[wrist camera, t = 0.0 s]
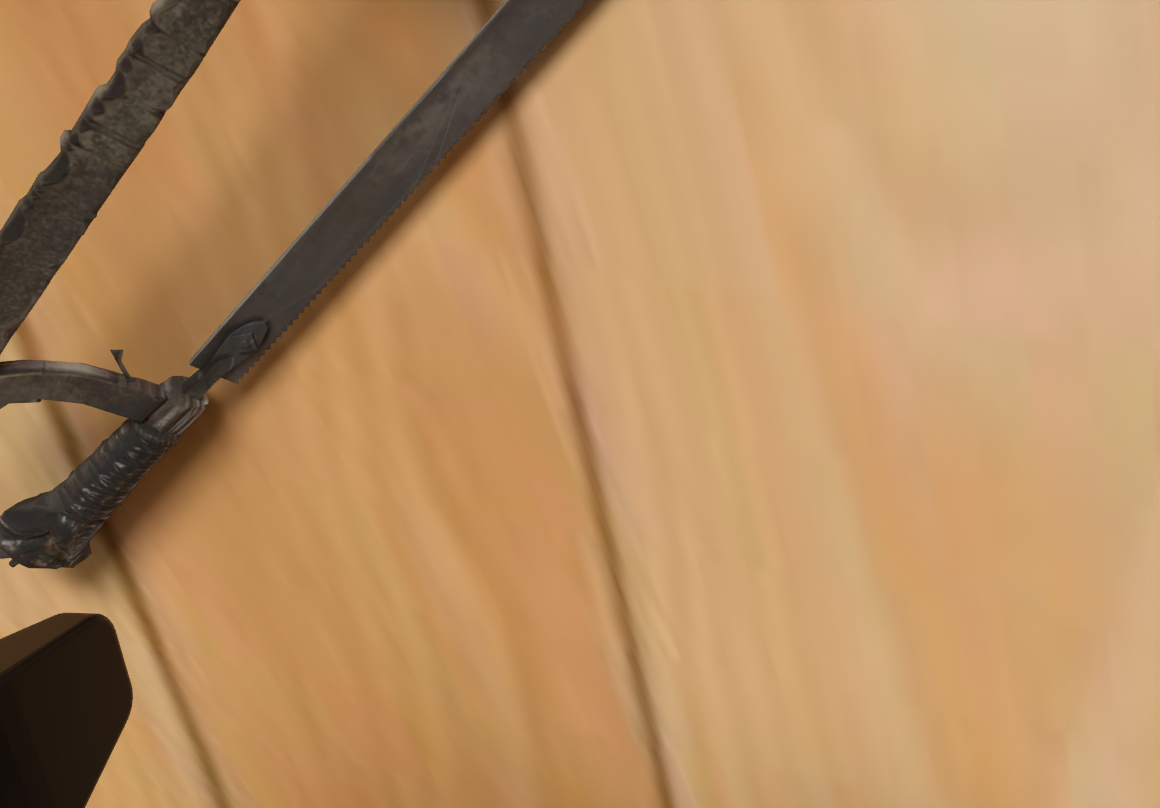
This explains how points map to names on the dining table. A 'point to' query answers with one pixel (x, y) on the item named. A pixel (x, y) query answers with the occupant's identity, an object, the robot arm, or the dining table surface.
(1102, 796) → the dining table surface
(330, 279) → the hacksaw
